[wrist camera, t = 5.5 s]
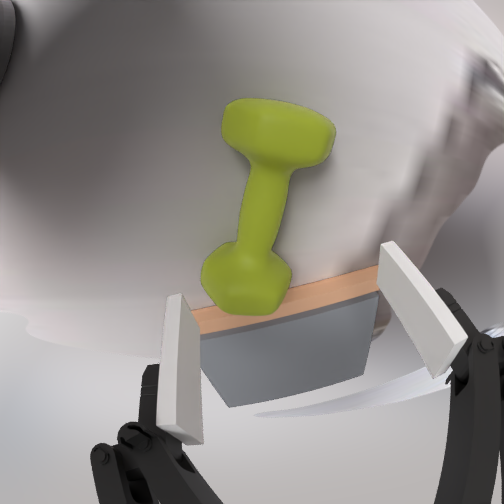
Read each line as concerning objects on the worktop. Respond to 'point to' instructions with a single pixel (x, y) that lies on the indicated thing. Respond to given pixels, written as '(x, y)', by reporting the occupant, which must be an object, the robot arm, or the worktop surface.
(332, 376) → the board
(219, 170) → the worktop surface
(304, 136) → the dumbbell
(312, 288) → the strip
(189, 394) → the robot arm
